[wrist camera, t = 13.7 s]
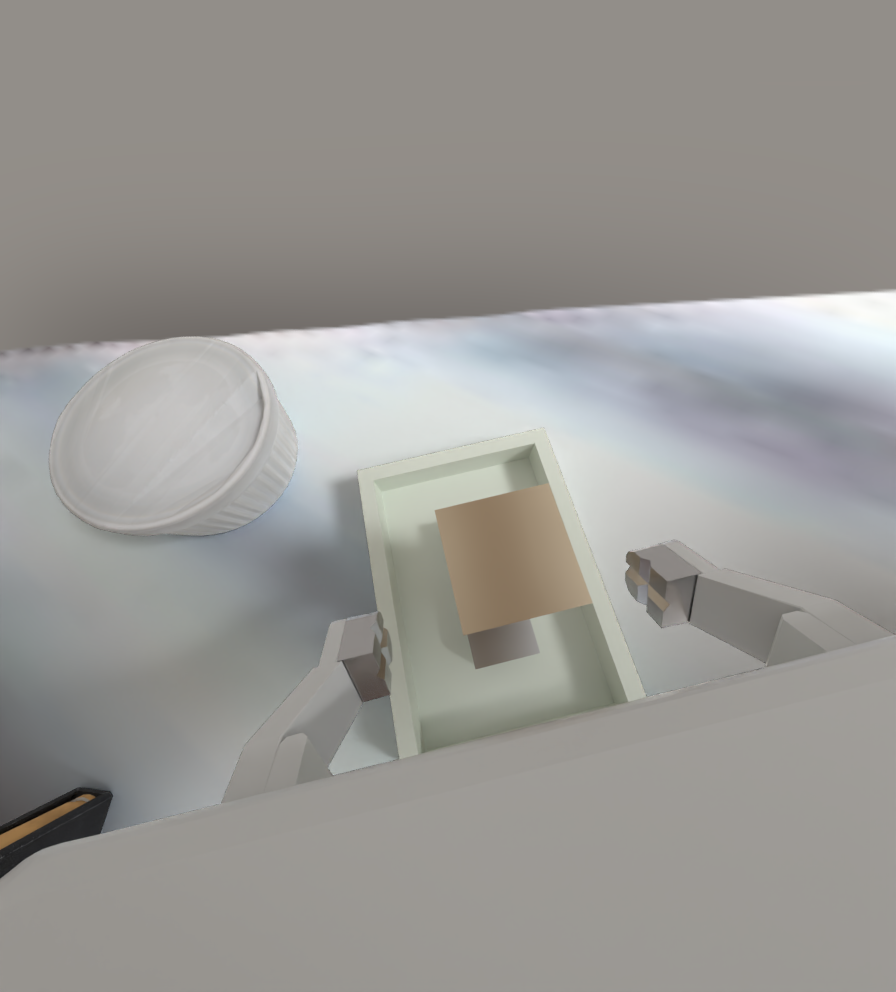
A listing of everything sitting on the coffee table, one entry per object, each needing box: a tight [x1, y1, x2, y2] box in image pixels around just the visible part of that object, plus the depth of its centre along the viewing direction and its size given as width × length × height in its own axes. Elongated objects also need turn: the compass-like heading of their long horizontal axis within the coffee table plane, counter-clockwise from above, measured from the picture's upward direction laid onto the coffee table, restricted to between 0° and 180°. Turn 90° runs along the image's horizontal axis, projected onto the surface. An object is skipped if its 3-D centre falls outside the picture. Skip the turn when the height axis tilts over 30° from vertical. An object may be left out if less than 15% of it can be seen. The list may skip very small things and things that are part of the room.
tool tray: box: [357, 428, 647, 759], centre depth 17 cm, size 11×15×2 cm
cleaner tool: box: [435, 483, 593, 669], centre depth 13 cm, size 3×7×10 cm, turn 13°
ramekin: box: [49, 337, 298, 536], centre depth 19 cm, size 11×11×5 cm
